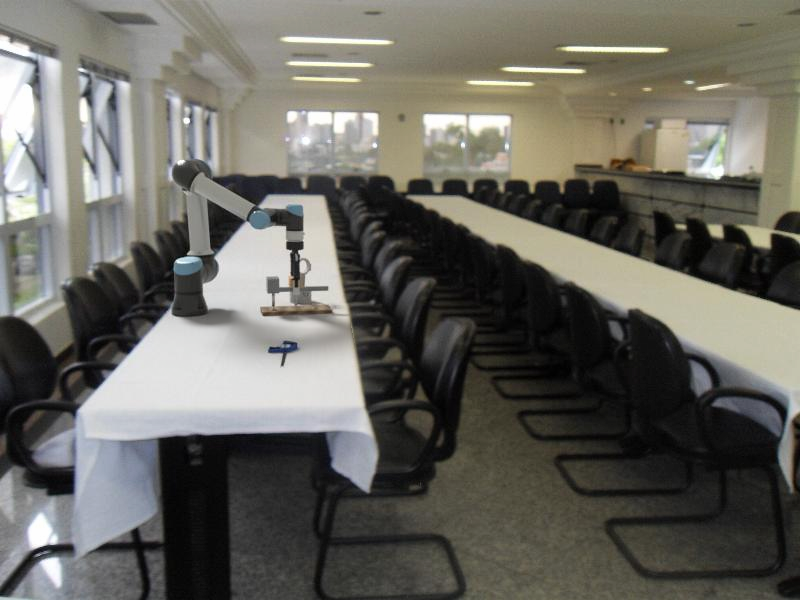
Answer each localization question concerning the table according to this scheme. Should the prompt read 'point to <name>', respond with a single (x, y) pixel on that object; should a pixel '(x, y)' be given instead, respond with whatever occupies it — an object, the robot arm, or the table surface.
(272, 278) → the grey piece
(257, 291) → the table surface
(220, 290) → the table surface
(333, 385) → the table surface
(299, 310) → the hole plate
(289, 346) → the bar clamp
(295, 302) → the block
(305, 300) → the engine component
